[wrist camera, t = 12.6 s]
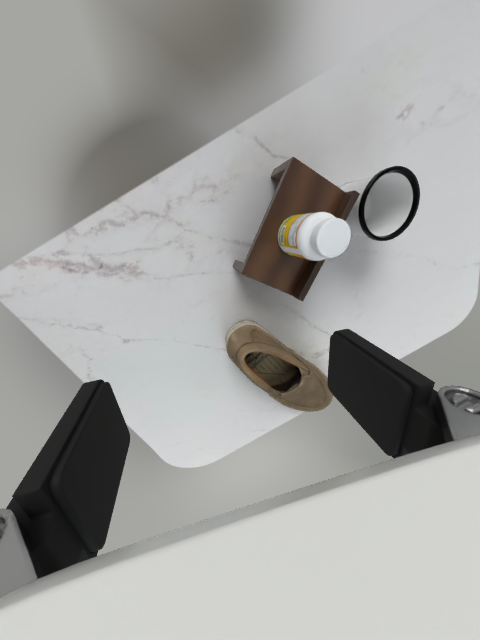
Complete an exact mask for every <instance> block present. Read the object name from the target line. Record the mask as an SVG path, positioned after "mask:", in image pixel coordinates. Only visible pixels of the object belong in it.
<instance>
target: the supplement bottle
mask: <svg viewBox="0 0 480 640" xmlns="http://www.w3.org/2000/svg"><path fill="white" fill-rule="evenodd" d="M350 238H351V231H350V228H349V225H348V224H347V223H346V222H345V221H344V220H343V219H340V218H336V217H335V216H333V215H332V214H330V213H327V212H316V213H308V214H299V215H294V216H291V217H289V218H287V219H286V220H285V221H284V222H283V223H282V225H281V226H280V229H279V232H278V242H279V245H280V247H281V249H282V250H283V251H284V252H285V253H287V254H289V255H293V256H297V257H301V258H304V259H308V260H313V261H321V260H324V259H326V258H334V257H337V256H339V255H341V254H342V253H343V252H344V251H345V250H346V248H347V247H348V245H349V242H350Z"/></svg>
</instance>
